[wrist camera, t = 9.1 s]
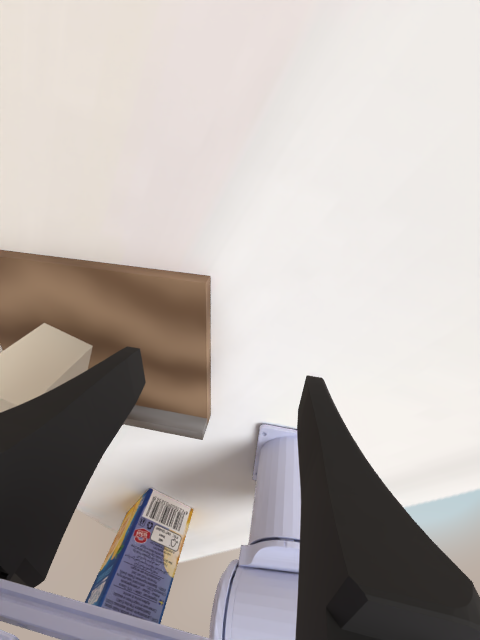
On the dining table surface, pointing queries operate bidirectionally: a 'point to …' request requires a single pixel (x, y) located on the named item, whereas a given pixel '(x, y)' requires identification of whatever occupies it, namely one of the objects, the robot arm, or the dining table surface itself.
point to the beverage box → (143, 558)
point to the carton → (40, 364)
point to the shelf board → (122, 327)
